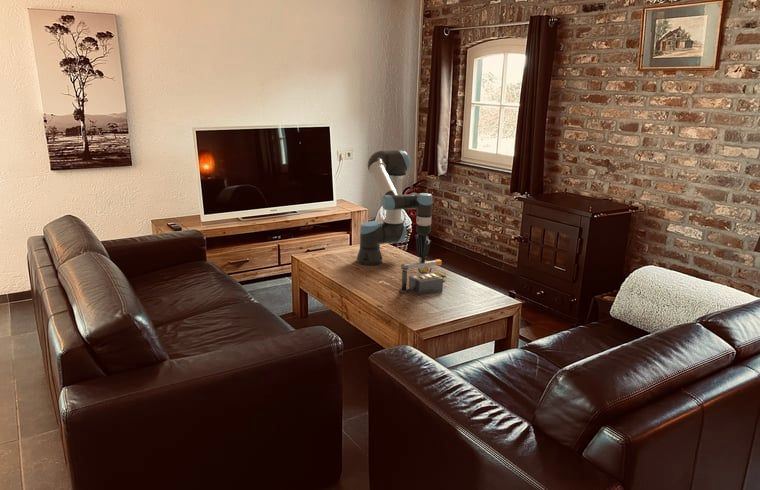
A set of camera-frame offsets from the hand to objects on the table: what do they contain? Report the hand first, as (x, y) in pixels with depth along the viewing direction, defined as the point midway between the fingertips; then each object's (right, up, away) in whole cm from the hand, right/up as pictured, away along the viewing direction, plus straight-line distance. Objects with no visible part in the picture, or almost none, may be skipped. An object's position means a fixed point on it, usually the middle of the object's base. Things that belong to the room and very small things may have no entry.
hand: (421, 268), depth 300 cm
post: (-9, -11, -5) cm, 15 cm away
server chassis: (+2, -11, -3) cm, 11 cm away
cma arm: (-1, +1, -4) cm, 4 cm away
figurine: (+7, -6, +17) cm, 19 cm away
